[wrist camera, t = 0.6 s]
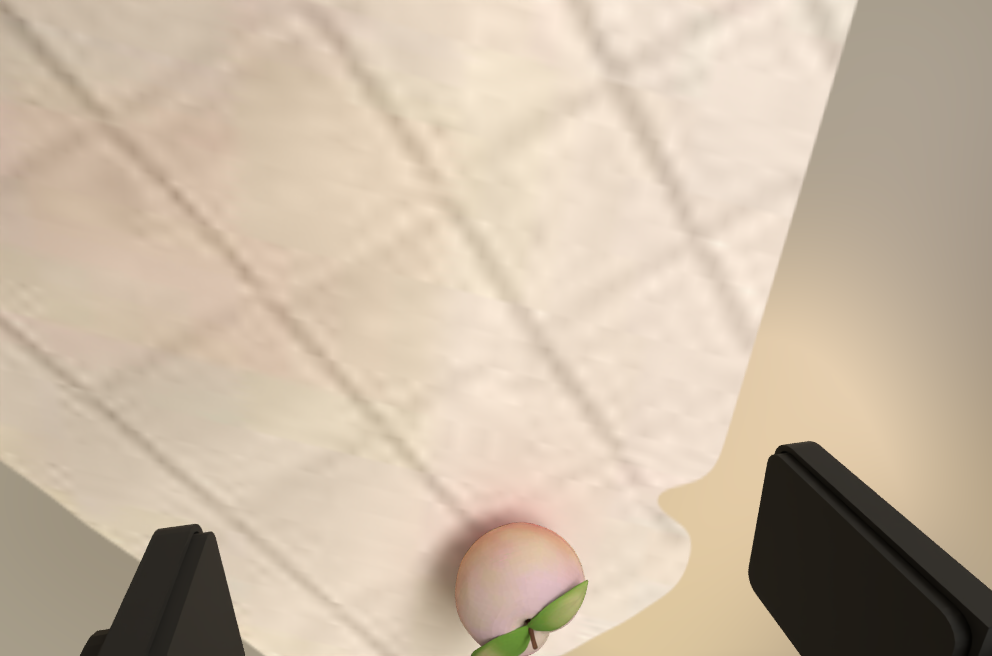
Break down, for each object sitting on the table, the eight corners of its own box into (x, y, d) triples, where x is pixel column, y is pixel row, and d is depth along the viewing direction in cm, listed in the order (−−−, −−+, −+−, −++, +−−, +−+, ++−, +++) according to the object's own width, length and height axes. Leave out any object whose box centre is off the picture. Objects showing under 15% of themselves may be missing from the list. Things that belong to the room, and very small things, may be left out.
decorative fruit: (507, 469, 46) (541, 568, 37) (578, 523, 49) (626, 626, 40) (420, 552, 47) (432, 667, 38) (496, 599, 51) (523, 715, 42)
